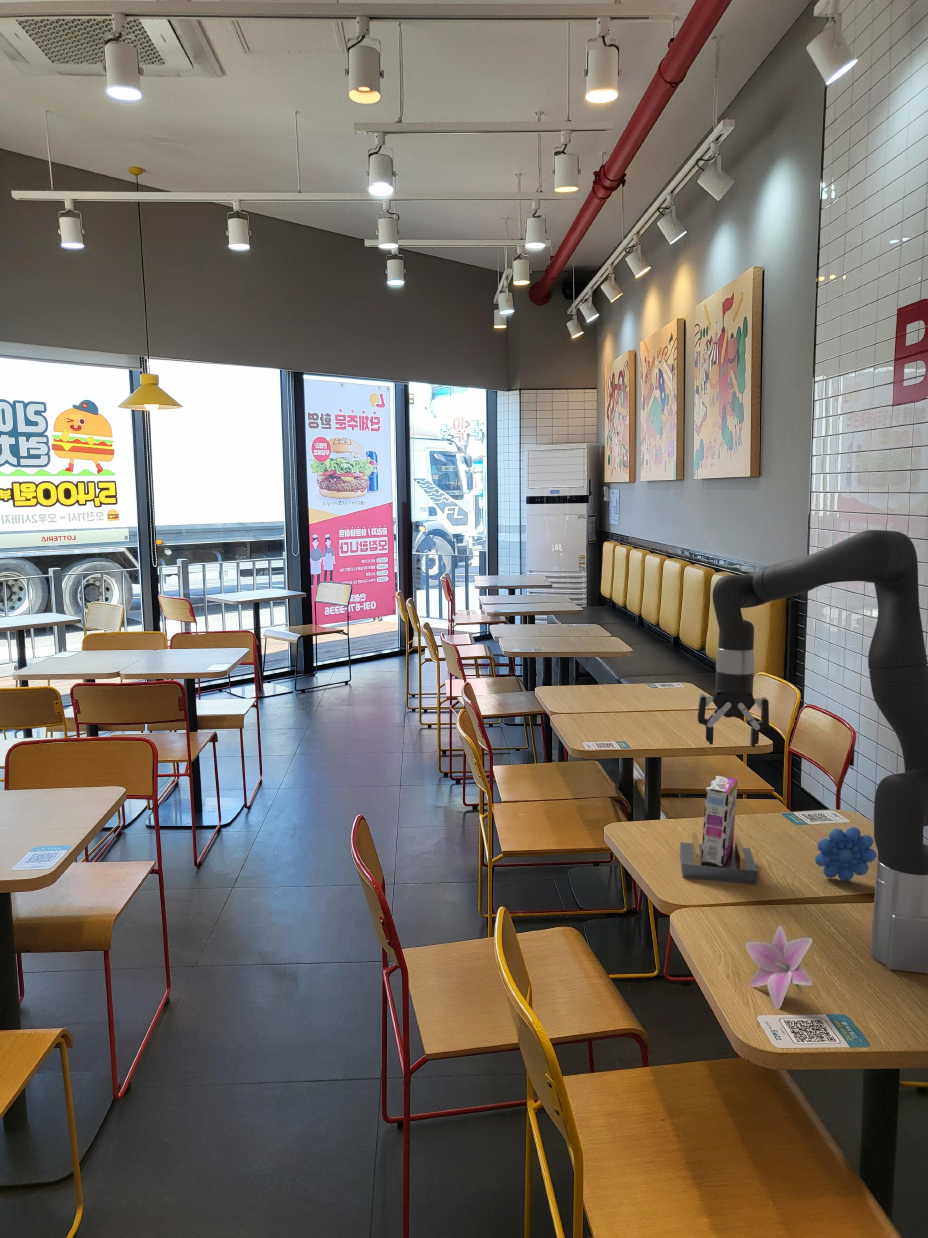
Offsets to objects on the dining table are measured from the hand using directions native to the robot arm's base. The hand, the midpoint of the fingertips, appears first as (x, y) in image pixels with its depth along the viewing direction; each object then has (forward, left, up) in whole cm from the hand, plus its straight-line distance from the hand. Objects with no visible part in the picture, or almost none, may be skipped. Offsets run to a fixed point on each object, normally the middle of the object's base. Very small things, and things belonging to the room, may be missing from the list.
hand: (731, 745), depth 175 cm
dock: (+1, +2, -28) cm, 28 cm away
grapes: (+2, -24, -28) cm, 37 cm away
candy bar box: (+1, +2, -25) cm, 25 cm away
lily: (-45, -4, -28) cm, 54 cm away
